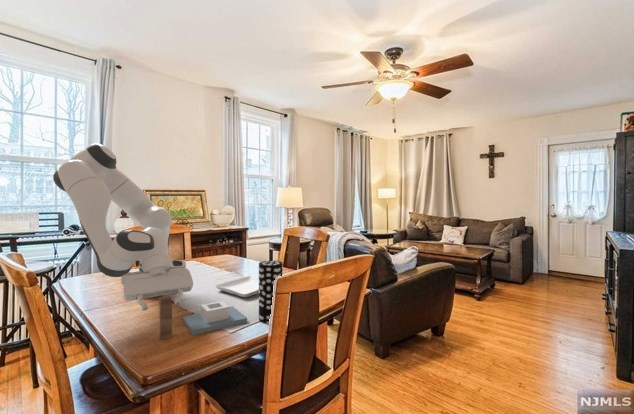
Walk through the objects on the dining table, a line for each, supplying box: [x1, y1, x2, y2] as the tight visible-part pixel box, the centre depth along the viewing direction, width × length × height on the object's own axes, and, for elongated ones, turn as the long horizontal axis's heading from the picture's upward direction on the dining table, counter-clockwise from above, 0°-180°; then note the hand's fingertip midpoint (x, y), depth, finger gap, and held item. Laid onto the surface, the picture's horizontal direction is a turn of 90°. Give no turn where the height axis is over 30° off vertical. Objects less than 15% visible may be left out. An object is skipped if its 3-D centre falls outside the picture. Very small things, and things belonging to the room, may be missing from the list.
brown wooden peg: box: [158, 295, 173, 340], centre depth 96 cm, size 3×3×12 cm
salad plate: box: [215, 275, 259, 298], centre depth 144 cm, size 21×21×3 cm
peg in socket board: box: [182, 300, 248, 336], centre depth 108 cm, size 14×18×6 cm
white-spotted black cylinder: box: [258, 260, 284, 324], centre depth 110 cm, size 8×8×20 cm
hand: (162, 306), depth 97 cm, fingers open, 8 cm apart
